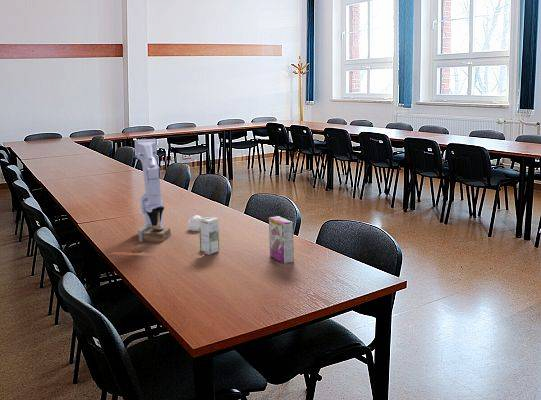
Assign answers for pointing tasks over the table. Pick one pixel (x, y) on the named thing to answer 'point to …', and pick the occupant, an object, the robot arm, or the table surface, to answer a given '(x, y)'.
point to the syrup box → (209, 235)
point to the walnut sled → (156, 234)
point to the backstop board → (143, 232)
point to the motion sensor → (194, 223)
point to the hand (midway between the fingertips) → (156, 224)
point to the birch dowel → (157, 223)
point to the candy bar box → (281, 239)
